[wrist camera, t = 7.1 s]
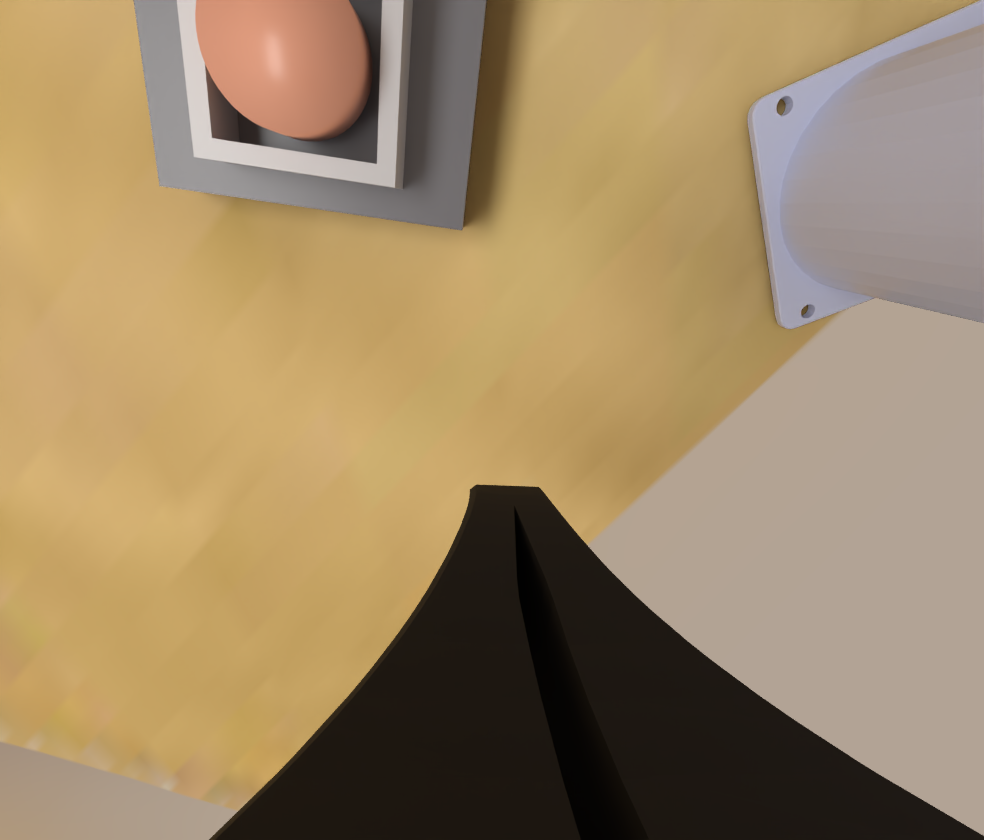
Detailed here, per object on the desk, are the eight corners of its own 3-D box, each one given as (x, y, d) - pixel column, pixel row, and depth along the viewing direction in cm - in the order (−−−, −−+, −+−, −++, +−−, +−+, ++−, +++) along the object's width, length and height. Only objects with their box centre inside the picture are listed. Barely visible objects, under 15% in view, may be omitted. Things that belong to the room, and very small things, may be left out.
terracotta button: (220, -47, 11) (185, -82, 10) (374, -17, 11) (361, -47, 10) (234, 130, 13) (205, 121, 11) (370, 151, 13) (358, 145, 12)
